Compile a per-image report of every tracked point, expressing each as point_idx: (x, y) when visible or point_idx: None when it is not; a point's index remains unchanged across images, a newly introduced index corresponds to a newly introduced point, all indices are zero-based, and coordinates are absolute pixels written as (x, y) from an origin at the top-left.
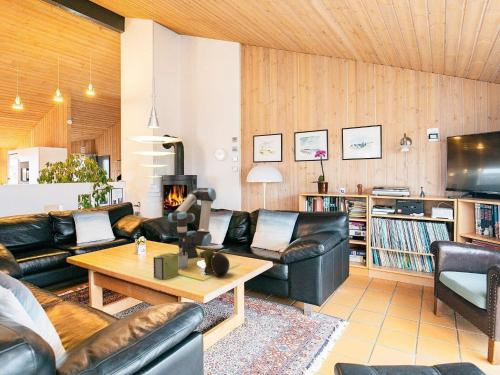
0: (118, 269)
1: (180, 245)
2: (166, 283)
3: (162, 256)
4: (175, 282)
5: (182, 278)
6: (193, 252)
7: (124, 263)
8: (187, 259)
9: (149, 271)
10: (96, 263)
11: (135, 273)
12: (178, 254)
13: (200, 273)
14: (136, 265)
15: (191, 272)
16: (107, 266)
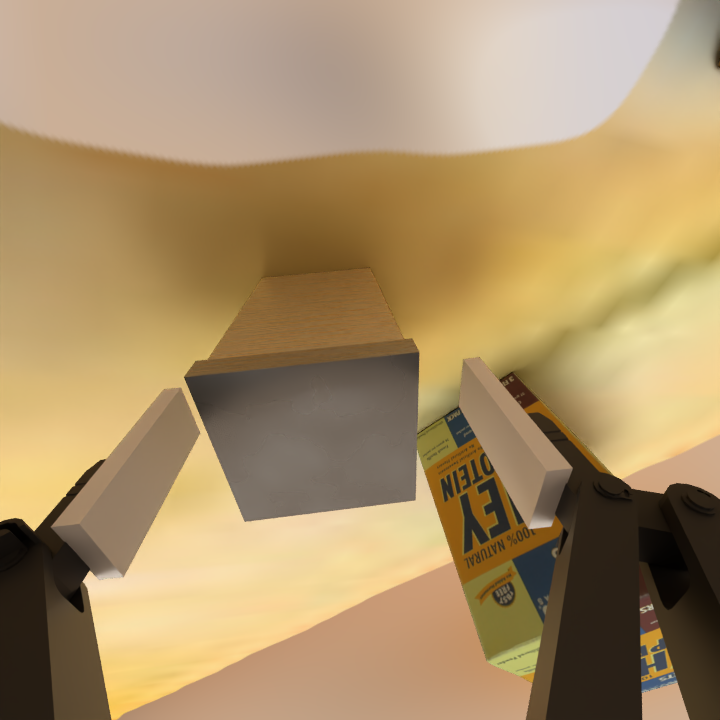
0: (246, 639)
1: (86, 665)
2: (654, 447)
3: (648, 676)
4: (685, 398)
5: (643, 347)
6: None
7: (113, 642)
8: (390, 312)
9: (338, 535)
10: (114, 704)
11: (353, 582)
12: (386, 501)
13: (640, 129)
14: (168, 598)
15: (531, 243)
16: (177, 673)
